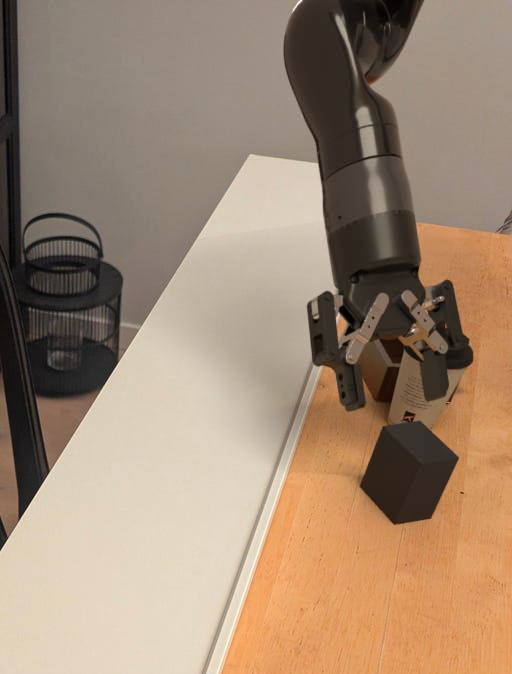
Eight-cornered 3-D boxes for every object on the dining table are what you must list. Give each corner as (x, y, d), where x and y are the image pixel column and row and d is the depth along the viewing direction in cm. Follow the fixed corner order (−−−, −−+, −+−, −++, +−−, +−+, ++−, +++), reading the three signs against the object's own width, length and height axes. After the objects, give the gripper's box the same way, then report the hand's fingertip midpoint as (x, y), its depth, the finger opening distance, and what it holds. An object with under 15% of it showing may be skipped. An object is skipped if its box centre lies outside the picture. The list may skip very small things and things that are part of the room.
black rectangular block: (389, 495, 89) (420, 420, 83) (424, 533, 86) (459, 457, 79) (353, 501, 89) (382, 425, 82) (387, 539, 85) (420, 463, 78)
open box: (422, 360, 109) (436, 326, 106) (450, 404, 102) (465, 369, 99) (352, 358, 108) (363, 323, 105) (375, 401, 102) (387, 366, 99)
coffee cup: (405, 447, 96) (440, 360, 88) (363, 412, 100) (393, 327, 93) (455, 434, 98) (494, 349, 91) (412, 401, 102) (446, 317, 95)
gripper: (323, 211, 77) (353, 403, 78) (465, 201, 80) (492, 385, 81) (278, 248, 84) (305, 423, 85) (409, 237, 88) (435, 405, 88)
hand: (396, 404), depth 83 cm, fingers open, 8 cm apart
